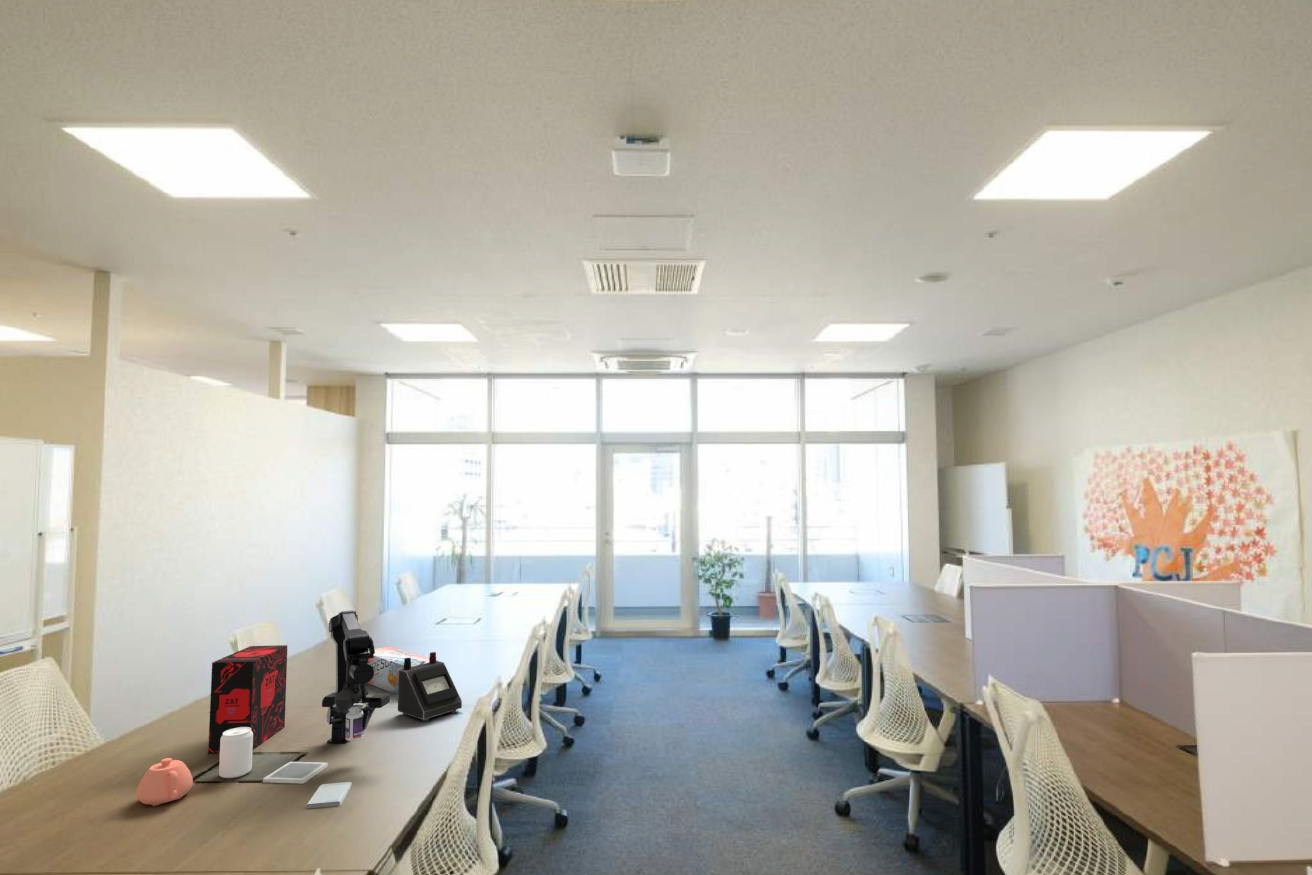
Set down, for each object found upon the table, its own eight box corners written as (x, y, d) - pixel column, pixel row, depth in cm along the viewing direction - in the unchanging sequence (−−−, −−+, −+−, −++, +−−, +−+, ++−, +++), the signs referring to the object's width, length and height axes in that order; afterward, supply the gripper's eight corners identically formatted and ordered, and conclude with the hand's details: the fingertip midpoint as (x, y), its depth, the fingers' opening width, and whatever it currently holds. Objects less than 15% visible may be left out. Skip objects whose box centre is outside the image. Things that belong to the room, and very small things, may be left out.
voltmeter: (423, 724, 238) (425, 665, 239) (397, 715, 248) (398, 659, 249) (462, 712, 250) (462, 656, 252) (435, 703, 260) (436, 650, 262)
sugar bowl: (183, 784, 189) (185, 747, 190) (201, 798, 180) (202, 759, 181) (129, 800, 180) (131, 760, 181) (145, 816, 171) (147, 774, 172)
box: (249, 752, 213) (252, 661, 215) (208, 754, 212) (212, 662, 214) (284, 727, 236) (287, 645, 238) (247, 728, 235) (250, 645, 237)
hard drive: (340, 801, 176) (351, 780, 188) (306, 804, 174) (320, 783, 186) (340, 807, 176) (351, 787, 188) (305, 810, 174) (319, 789, 186)
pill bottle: (367, 734, 208) (368, 702, 209) (360, 740, 202) (361, 707, 203) (349, 734, 208) (350, 702, 208) (342, 741, 202) (343, 707, 203)
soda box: (357, 681, 293) (357, 651, 294) (387, 674, 303) (388, 645, 304) (408, 699, 267) (409, 665, 268) (439, 691, 278) (440, 658, 279)
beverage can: (214, 781, 191) (216, 737, 192) (224, 769, 199) (226, 727, 200) (246, 777, 194) (248, 734, 195) (255, 766, 201) (256, 725, 202)
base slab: (289, 765, 202) (289, 761, 202) (327, 766, 201) (328, 762, 201) (262, 782, 190) (263, 778, 190) (303, 783, 189) (303, 779, 189)
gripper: (311, 683, 199) (310, 738, 198) (372, 684, 198) (371, 739, 196) (333, 673, 210) (331, 725, 209) (390, 674, 209) (389, 726, 208)
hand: (355, 729), depth 205 cm, fingers closed on pill bottle, 5 cm apart
